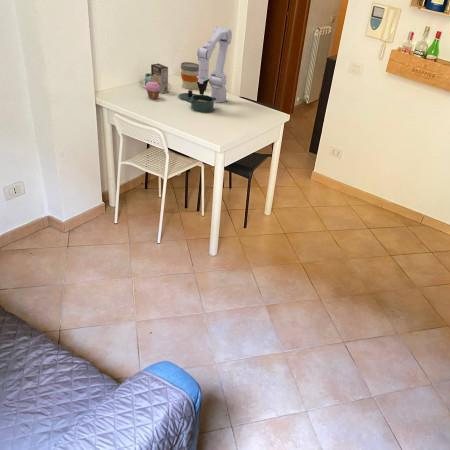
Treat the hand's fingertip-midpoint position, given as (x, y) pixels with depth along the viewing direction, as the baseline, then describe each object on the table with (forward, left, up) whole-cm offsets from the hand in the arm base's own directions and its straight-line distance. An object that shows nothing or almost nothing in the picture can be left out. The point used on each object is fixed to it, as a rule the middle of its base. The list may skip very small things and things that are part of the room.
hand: (202, 92), depth 260 cm
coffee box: (+7, -36, -10) cm, 39 cm away
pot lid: (-4, -18, -9) cm, 21 cm away
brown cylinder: (0, +1, -9) cm, 9 cm away
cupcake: (+18, -25, -10) cm, 33 cm away
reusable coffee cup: (-17, -38, -10) cm, 43 cm away
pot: (0, +1, -10) cm, 10 cm away
